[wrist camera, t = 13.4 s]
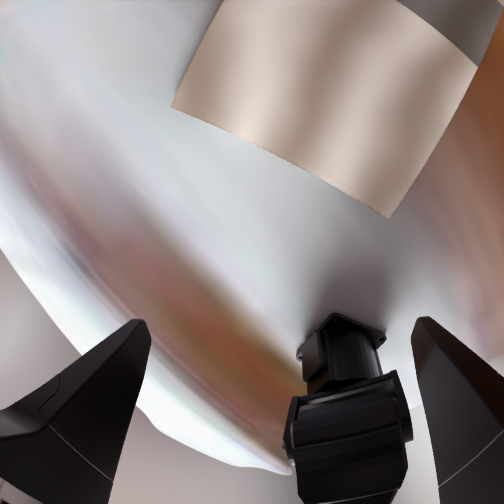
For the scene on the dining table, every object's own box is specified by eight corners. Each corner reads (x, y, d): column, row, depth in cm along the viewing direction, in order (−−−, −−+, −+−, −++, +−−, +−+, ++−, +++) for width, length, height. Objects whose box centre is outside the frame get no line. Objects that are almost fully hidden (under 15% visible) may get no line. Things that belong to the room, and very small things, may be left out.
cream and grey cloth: (499, -3, 10) (508, -5, 9) (383, 212, 20) (388, 219, 19) (317, -116, 8) (319, -124, 7) (176, 106, 18) (170, 107, 17)
